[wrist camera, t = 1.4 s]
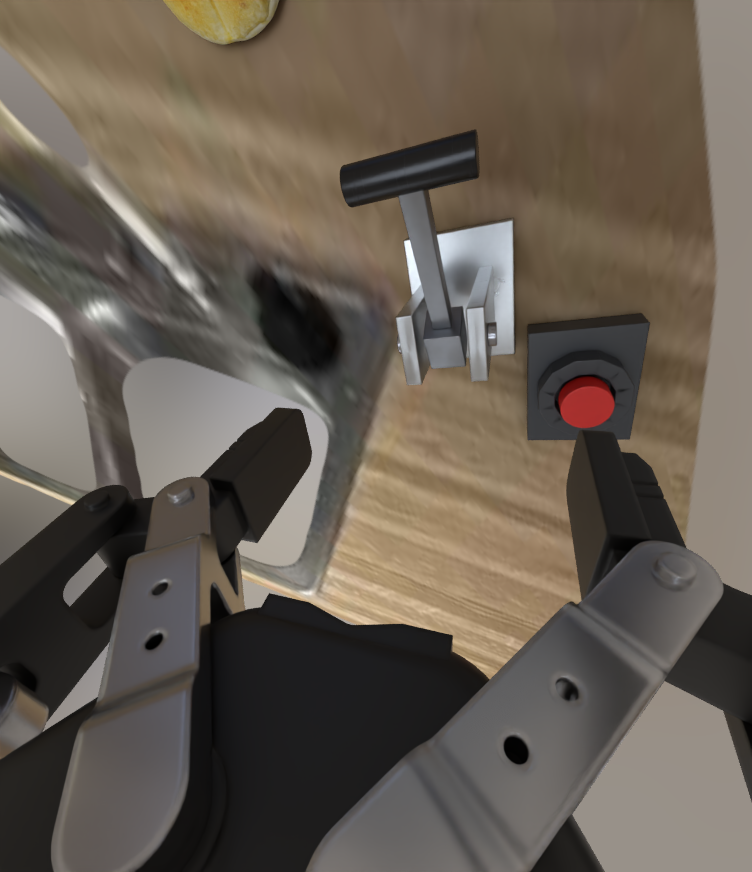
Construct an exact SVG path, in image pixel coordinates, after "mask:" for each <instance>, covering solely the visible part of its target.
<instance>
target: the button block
mask: <svg viewBox="0 0 752 872" xmlns="http://www.w3.org/2000/svg"><path fill="white" fill-rule="evenodd" d="M649 325H650V322H649V321H648V320H647V319H646V318H645V317H644V315H643V314H642V313H641V314H631V315H621V316H611V317H601V318H591V319H581V320H571V321H562V322H552V323H542V324H532V325H528V354H527V436H528V440H576V439H577V436H578V433H579V431H580V430H594V431H608V432H614V434H615V436H616V439H617V440H619V439H630V435H631V429H632V423H633V418H634V412H635V406H636V400H637V394H638V389H639V383H640V377H641V371H642V365H643V360H644V354H645V348H646V342H647V336H648V331H649ZM585 376H589V377H595V378H598V379H601V380H602V381H604V382H605V383H606V384H607V385H608V387H609V389H610V391H611V394H612V396H613V398H614V403H615V407H614V410H613V413H612V414H611V416H610V417H609V418H608V419H607V420H606V421H605V422H603V423H602V424H600V425H597V426H595V427H590V428H579V427H575V426H572V425H570V424H569V423H567V422H566V421H565V420H564V419H563V417H562V415H561V412H560V407H559V402H558V397H559V393H560V391H561V389H562V388H563V387H564V386H565V385H566V384H567V383H568V382H570V381H571V380H573V379H576V378H579V377H585Z"/></svg>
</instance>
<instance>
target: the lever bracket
mask: <svg viewBox="0 0 752 872" xmlns="http://www.w3.org/2000/svg"><path fill="white" fill-rule="evenodd" d="M437 238H438V243H439V249H440V254H441V259H442V264H443V269H444V274H445V280H446V285H447V290H448V295H449V300H450V305H451V307H459V306H462V307H463V312H464V318H465V325H466V331H467V337H468V339H467V355H466V358H468V357H469V360H470V373H471V381H487V380H488V377H489V369H490V360H491V356H494V355H507V354H515V305H514V219H513V218H510V219H504V220H499V221H494V222H489V223H484V224H478V225H473V226H468V227H463V228H457V229H452V230H447V231H442V232H437ZM404 247H405V254H406V261H407V268H408V274H409V281H410V288H411V295H412V297H411V298H410V299H409V301H408V302H407V303H406V305H405V306H404V307H403V308H402V310H401V311H400V312H399V314H398V315H397V316H396V324H397V329H398V337H397V345H398V350H399V352H400V354H402V358H403V364H404V370H405V376H406V382H407V385H418V384H422V383H423V380H424V378H425V375H426V373H427V371H428V368H429V366H430V362H429V358H428V355H427V352H426V348H425V345H424V342H423V335H424V327H425V319H426V312H427V310H428V308H427V305H426V301H425V297H424V293H423V289H422V285H421V282H420V278H419V274H418V270H417V266H416V262H415V259H414V255H413V251H412V247H411V243H410V239H409V238H407V239H405V240H404Z"/></svg>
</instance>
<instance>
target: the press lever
mask: <svg viewBox="0 0 752 872" xmlns="http://www.w3.org/2000/svg"><path fill="white" fill-rule="evenodd" d="M477 178H479V145H478V135H477V131H476V130H475V129H474V130H471V131H467V132H463V133H460V134H456V135H453V136H449V137H445V138H442V139H438V140H434V141H431V142H427V143H423V144H420V145H416V146H412V147H409V148H405V149H401V150H398V151H394V152H390V153H387V154H383V155H380V156H376V157H372V158H369V159H365V160H361V161H358V162H354V163H350V164H347V165H343V166H342V167H341V170H340V183H341V189H342V193H343V196H344V199H345V201H346V203H347V204H348V206H349V207H356V206H360V205H365V204H369V203H373V202H378V201H382V200H386V199H391V198H395V197H399V201H400V205H401V209H402V213H403V216H404V220H405V224H406V228H407V232H408V236H409V239H410V243H411V247H412V251H413V255H414V259H415V262H416V266H417V270H418V274H419V278H420V282H421V285H422V289H423V293H424V297H425V301H426V305H427V308H428V310H427V312H426V319H425V327H424V335H423V342H424V345H425V348H426V352H427V355H428V358H429V362H430V365H431V368H432V369H435V368H449V367H464V366H466V355H467V339H468V337H467V331H466V325H465V318H464V312H463V307H462V306H459V307H451V305H450V300H449V295H448V290H447V285H446V280H445V274H444V269H443V264H442V259H441V254H440V249H439V243H438V238H437V233H436V228H435V223H434V218H433V212H432V207H431V202H430V197H429V192H428V190H430V189H434V188H438V187H443V186H447V185H451V184H456V183H460V182H464V181H469V180H473V179H477Z"/></svg>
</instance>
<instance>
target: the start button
mask: <svg viewBox="0 0 752 872" xmlns="http://www.w3.org/2000/svg"><path fill="white" fill-rule="evenodd" d="M558 402H559V407H560V412H561V415H562V417H563V419H564V420H565V421H566V422H567V423H569V424H570V425H572V426H575V427H579V428H590V427H595V426H597V425H600V424H602V423H603V422H605V421H606V420H607V419H608V418H609V417H610V416H611V414H612V413H613V410H614V407H615V403H614V398H613V396H612V394H611V391H610V389H609V387H608V385H607V384H606V383H605V382H604V381H602V380H601V379H598V378H595V377H589V376H585V377H579V378H576V379H573V380H571V381H570V382H568V383H567V384H566V385H565V386H564V387H563V388H562V389H561V391H560V393H559V397H558Z"/></svg>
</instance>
